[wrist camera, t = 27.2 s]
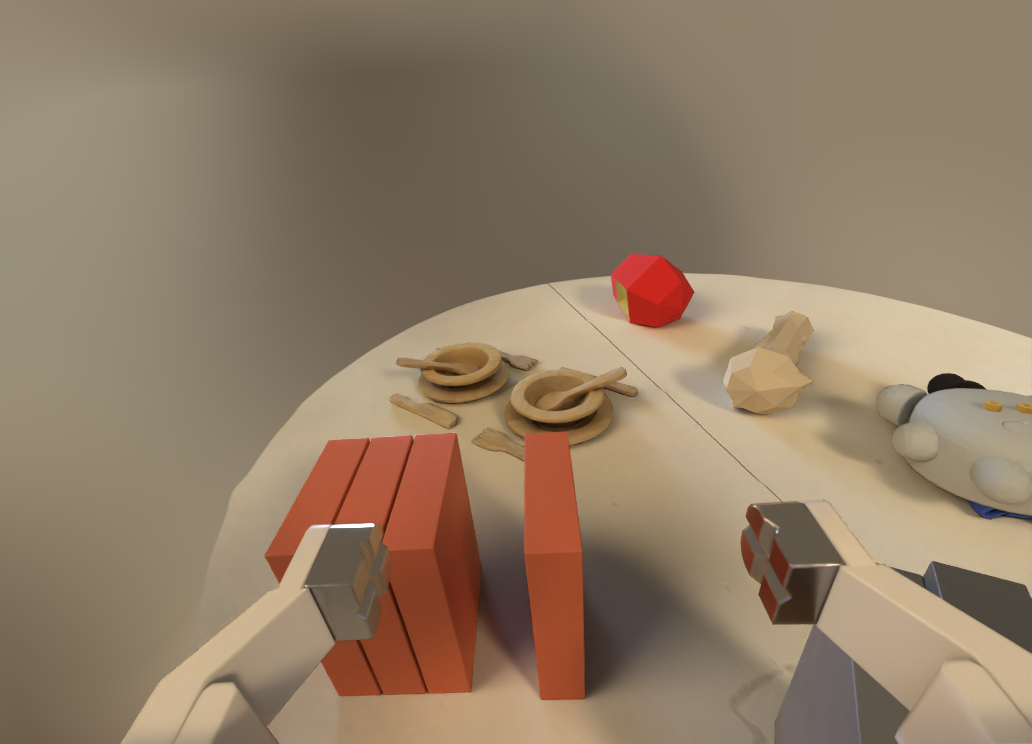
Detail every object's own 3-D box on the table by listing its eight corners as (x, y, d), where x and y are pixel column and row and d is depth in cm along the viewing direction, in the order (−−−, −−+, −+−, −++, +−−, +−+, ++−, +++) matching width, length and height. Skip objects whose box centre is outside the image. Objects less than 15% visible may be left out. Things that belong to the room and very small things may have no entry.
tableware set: (641, 393, 62) (644, 354, 59) (561, 483, 50) (559, 439, 47) (474, 344, 79) (469, 311, 76) (380, 402, 66) (370, 365, 63)
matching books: (471, 692, 33) (433, 547, 25) (339, 696, 33) (263, 555, 26) (482, 568, 42) (456, 432, 34) (376, 572, 42) (328, 439, 34)
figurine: (1185, 568, 36) (1026, 431, 53) (1253, 476, 32) (1059, 360, 49) (907, 524, 41) (845, 412, 58) (939, 441, 38) (862, 348, 55)
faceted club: (702, 406, 57) (754, 333, 75) (772, 443, 54) (810, 358, 71) (734, 346, 52) (782, 283, 69) (815, 384, 49) (844, 307, 66)
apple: (643, 347, 76) (586, 302, 85) (695, 330, 81) (636, 289, 91) (664, 281, 68) (599, 239, 78) (720, 266, 74) (653, 229, 83)
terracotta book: (585, 699, 32) (582, 551, 24) (540, 700, 32) (524, 553, 25) (572, 570, 41) (567, 431, 33) (537, 571, 41) (524, 433, 33)
